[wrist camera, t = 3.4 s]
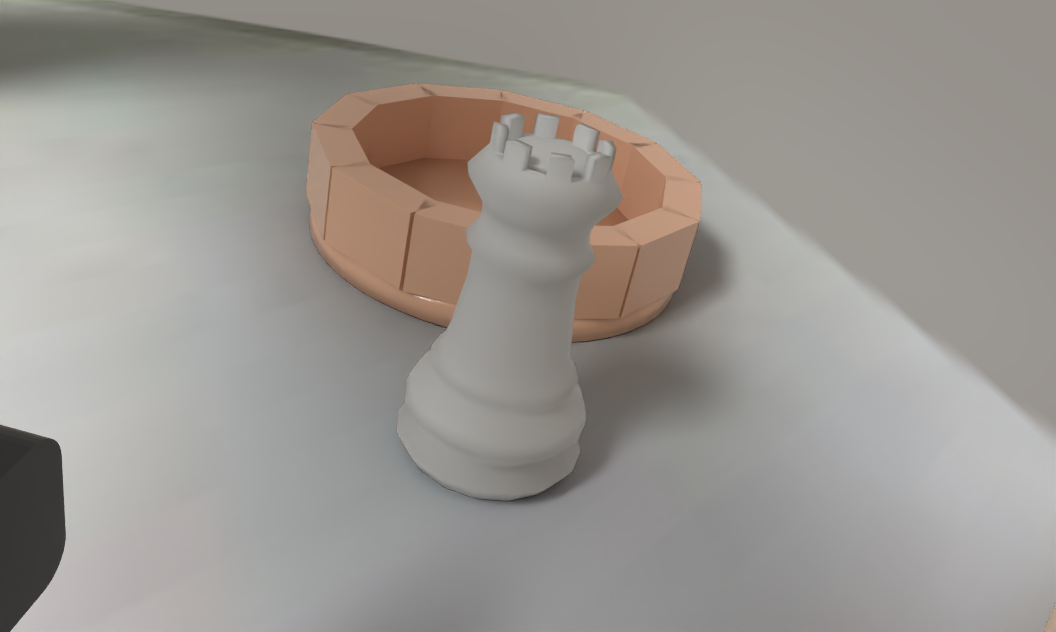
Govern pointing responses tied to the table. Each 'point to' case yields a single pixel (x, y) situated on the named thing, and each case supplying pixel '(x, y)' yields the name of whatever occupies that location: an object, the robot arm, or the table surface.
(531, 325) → the rook chess piece
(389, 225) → the dish
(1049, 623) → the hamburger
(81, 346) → the table surface
